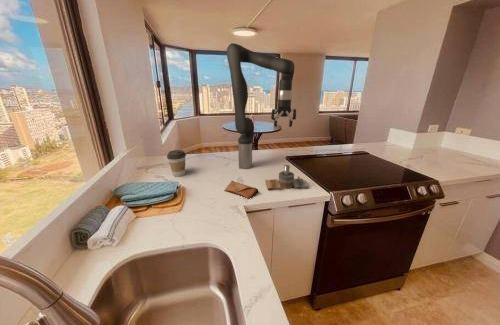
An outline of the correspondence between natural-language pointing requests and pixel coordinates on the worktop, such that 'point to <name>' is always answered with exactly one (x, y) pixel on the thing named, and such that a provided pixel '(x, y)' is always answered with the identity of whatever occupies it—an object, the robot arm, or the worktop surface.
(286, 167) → the hinge pin
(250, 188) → the sunglasses case
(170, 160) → the coffee cup
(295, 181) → the hinge leaves
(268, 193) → the worktop surface
